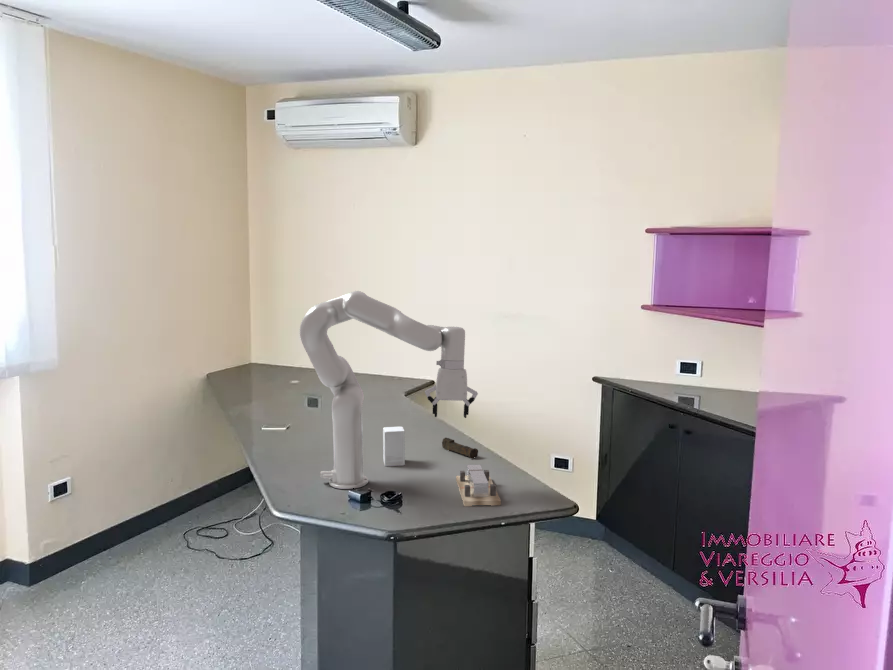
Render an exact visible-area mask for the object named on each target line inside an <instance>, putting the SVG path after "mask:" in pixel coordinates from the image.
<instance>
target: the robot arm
mask: <svg viewBox="0 0 893 670" xmlns="http://www.w3.org/2000/svg"><path fill="white" fill-rule="evenodd" d="M353 319H354V320H355V321H358V322H359V323H360V322H361V323H362V324H365V325H367V326H370V327H372V328H374V329H376V330H379V331H381V332H383V333H385V334H387V335H389V336H391V337H394V338H397V339H399V340H400V341H402V342H404V343H407V344H409V345H411V346H413V347H416V348H418V349H421V350H423V351H427V352H434V351H436V350H438V349H439V348H440V349H441V353H440V354H441V355H440V356H441V357H440V359H439V360H436V366H439V368H438V370H437V375H436V382H435V385H434V386H431V387H430V388H427V389H425V390H424V394H425V396H426V398H427V400H428V401H429V402H430V404H431V405H432V415H434V418H437V417H438V402H439V401H454V402H456V401H459V402H461V401H462V402H463V403H464V404H463V418H465V419H466V418H467V416H469V412H470V411H469V409H470V408H469V407H470V405H471V404H472V403H474V401H475V400H476V398H477V396H478V395H479V393H478V391H477V390H475V389H473V388H471V387H469V386H468V376H467V375H468V373H467V369H465V346H466V330H465V328H463V327H459V326H441V325H434V324H433V325H432V324H424V323H422V322H419V321H418V320H415V319H413V318H411V317H409V316H407V315H406V314H404V313H403V312H402V311H401V310H399V309H398V308H396V307H394V306H392V305H390V304H386V303H384V302H382V301H381V300H377V299H376V298H373V297H371V296H369V295H367V294H366V293H365V292H364V291H359V290H355V291H351V292H349V293H346V294H344V295H341V296H339V297H335V298H332V299H329V300H326V301H323V302H320V303H318V304H317V303H316V304H315V305H313V306H312V307H311V308H309V310H308V311H307V312H306V313H305V314H304V316H303V318H302V320H301V322H300V326H299V336H300V337H299V338H300V341H301V344H302V346H303V348H304V351H305V352H306V354H307V356H308V358H309V361H310V363H311V364H312V367H313V368H314V370H315V373H316V374H317V377H318V379H319V381H320V382H321V383H322V385H323V386H325V387H327V388H328V389H330V391H331V393H332V395H333V398H332V401H331V417H332V419H331V420H332V440H333V441H332V442H333V445H332V446H333V447H332V448H333V468H332V469H331V470H328V471H327V470H321V471H320V474H319V477H320V478H323V479H324V480H325V479H329V481H328V482H329V483H328V484H329V486H330V487H332V488H335V489H341V490H351V489H352V490H353V488H354V489H358V488H361V487H364V486H366V485H367V484H368V483H369V478H368V477H367V476H366V475H364V450H363V449H364V441H363V439H364V438H363V437H364V435H363V432H364V431H363V404H364V400H365V395H364V391H363V389H362V387H361V384H360V383H359V381H358V379H357V376H356V375H355V372H354V371H353V369H352V366H351V365H350V364H349V362H348V361H347V359H345V357H343V356H341V355H338V353H337V351H336V349H335V347H334V345H333V343H332V341H331V340H330V338H329V336H328V330H329V329H330V328H331V327H333V326H336V325H339V324H342V323H344V322H349V321H350V320H351V321H352V320H353ZM432 392H435V397H434V398H433V396H431V393H432ZM468 393H470V394H472V395H471V396H470V397H469V398H468Z"/></svg>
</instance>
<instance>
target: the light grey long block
mask: <svg viewBox="0 0 893 670" xmlns="http://www.w3.org/2000/svg"><path fill="white" fill-rule="evenodd" d="M466 474H467V475H466V476H467V480H468V482H469V485H470V488H471V491H472V493H473V496H474V497H488V481H487V479H486V476H485V474H484V469H483V468H482V466H481V464H467V465H466Z"/></svg>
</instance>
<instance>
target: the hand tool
mask: <svg viewBox="0 0 893 670" xmlns="http://www.w3.org/2000/svg"><path fill="white" fill-rule="evenodd" d="M441 443H442V444H441V445H442V448H443V449H444V450H446V451H447V450H449V451H448V452H455V453H458V454H460V455H462V456H465V457H467V456H468V457H467V458H469V459H470V458H474V457H477V458H478V457H479V456H478V455H479V450H478V448H473V447H470V446H468V445H463V444H460V443H458V442H456V441H455V439H452V438H450V437H444V438H443V439H442V441H441ZM474 459H475V458H474Z"/></svg>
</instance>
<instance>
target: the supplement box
mask: <svg viewBox="0 0 893 670" xmlns="http://www.w3.org/2000/svg"><path fill="white" fill-rule="evenodd" d="M405 433H406V430H405V429H404V427H403V426H385V427H383V428H382V448H383V449H382V454H383V456H382V457H383V458H382V460H383V464H384V467H395V466H396V467H398V466H405V465H406V447H405V446H406V445H405V443H406V441H405V440H406V439H405V438H406V436H405Z"/></svg>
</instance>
